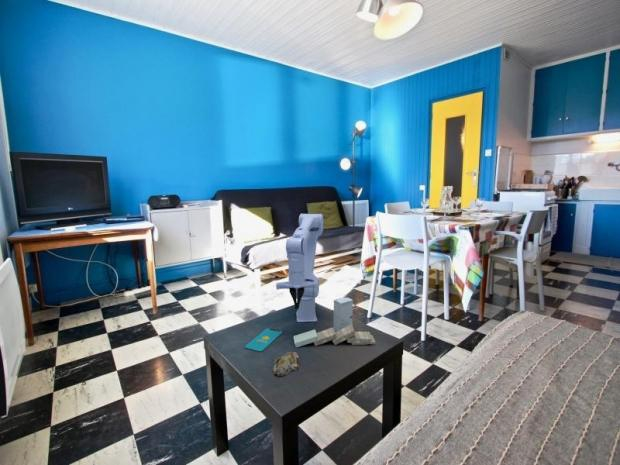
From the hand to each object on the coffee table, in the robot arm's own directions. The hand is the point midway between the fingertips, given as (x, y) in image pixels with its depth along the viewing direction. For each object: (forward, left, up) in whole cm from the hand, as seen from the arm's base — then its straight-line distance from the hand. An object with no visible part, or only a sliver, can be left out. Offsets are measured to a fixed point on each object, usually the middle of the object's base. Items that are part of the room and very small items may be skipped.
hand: (296, 307), depth 110 cm
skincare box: (-2, +17, -11) cm, 20 cm away
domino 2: (+6, +5, -10) cm, 13 cm away
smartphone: (+3, -12, -11) cm, 16 cm away
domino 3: (+6, +12, -10) cm, 17 cm away
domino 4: (+6, +17, -9) cm, 20 cm away
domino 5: (+6, +19, -10) cm, 22 cm away
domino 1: (+6, -1, -10) cm, 12 cm away
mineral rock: (+19, -4, -11) cm, 23 cm away
